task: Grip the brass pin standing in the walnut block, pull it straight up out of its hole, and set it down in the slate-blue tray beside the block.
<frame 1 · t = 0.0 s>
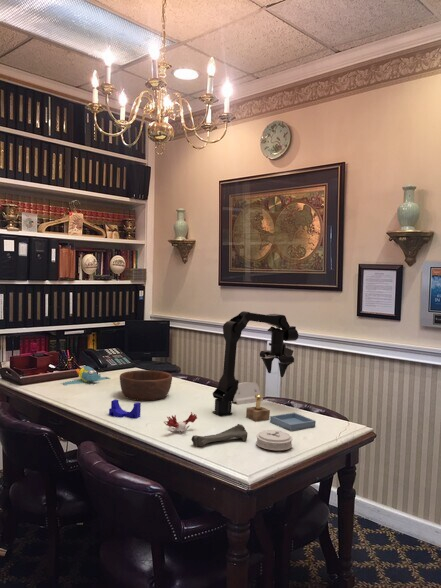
hand: (275, 375, 228), 15 cm above the table, tool pointing down, fingers open, 9 cm apart
brass pin: (258, 406, 209), in the pin block
bone: (221, 444, 177), on the table
lid: (273, 447, 176), on the table
tray: (292, 424, 202), on the table
blue toy parrot: (87, 383, 264), on the table
pin block: (257, 418, 209), on the table
figurine: (178, 431, 188), on the table
hinge: (245, 401, 237), on the table
wooden bowl: (145, 396, 239), on the table
cable clip: (124, 417, 204), on the table
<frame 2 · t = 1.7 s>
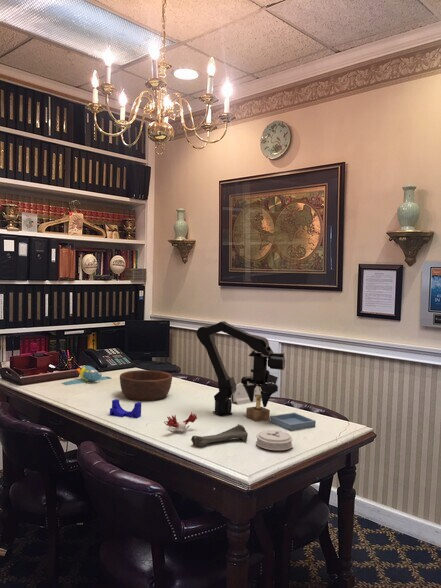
hand: (258, 404, 209), 6 cm above the table, tool pointing down, fingers open, 9 cm apart
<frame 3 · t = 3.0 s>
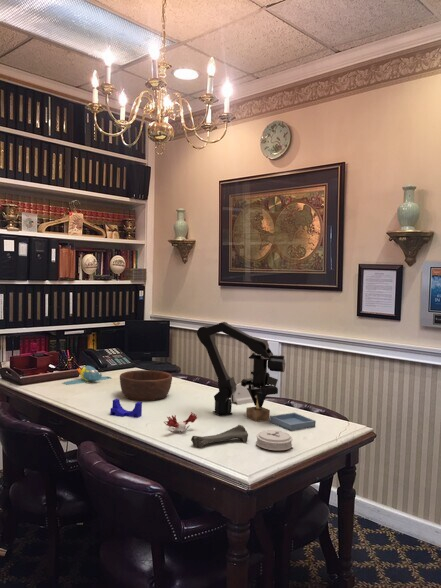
hand: (258, 406, 209), 5 cm above the table, tool pointing down, fingers closed on brass pin, 3 cm apart
brass pin: (258, 406, 209), in the pin block, touching gripper
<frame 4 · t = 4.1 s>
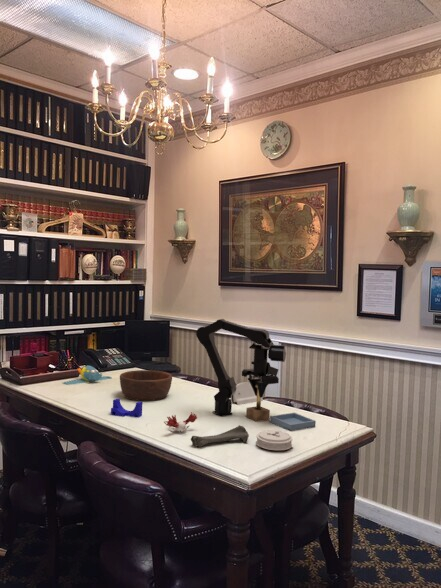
hand: (258, 396, 208), 9 cm above the table, tool pointing down, fingers closed on brass pin, 3 cm apart
brass pin: (258, 396, 208), point 9 cm above the table, touching gripper
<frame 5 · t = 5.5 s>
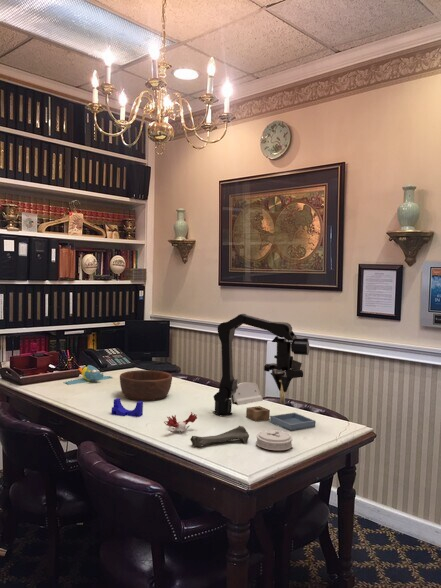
hand: (282, 391, 204), 13 cm above the table, tool pointing down, fingers closed on brass pin, 3 cm apart
brass pin: (282, 391, 204), point 13 cm above the table, touching gripper
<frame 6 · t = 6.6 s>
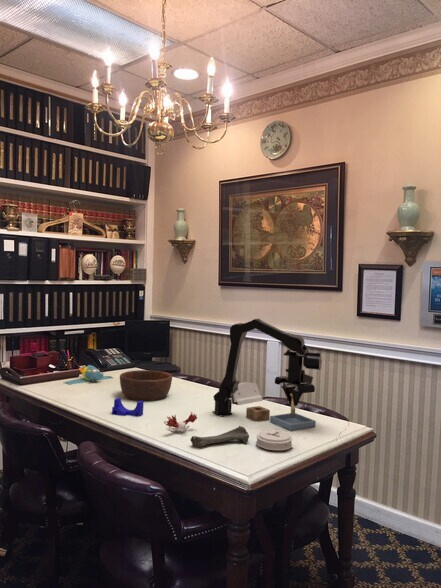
hand: (293, 405, 202), 8 cm above the table, tool pointing down, fingers closed on brass pin, 3 cm apart
brass pin: (293, 405, 202), point 8 cm above the table, touching gripper
when the fingers open (7 cm above the table, at t = 7.3 s): brass pin drops 2 cm, resting on tray.
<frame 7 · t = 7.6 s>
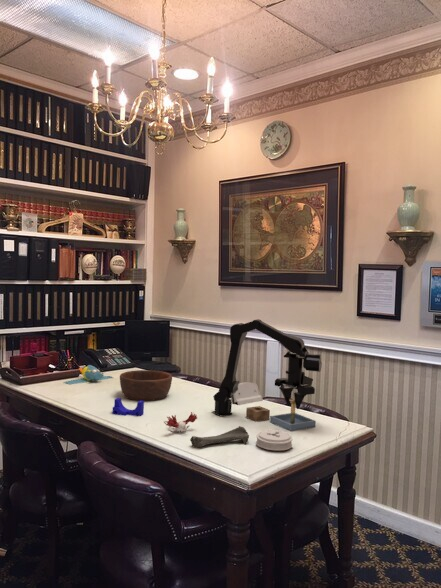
hand: (293, 407, 202), 7 cm above the table, tool pointing down, fingers open, 5 cm apart
brass pin: (293, 411, 202), in the tray, point 6 cm above the table
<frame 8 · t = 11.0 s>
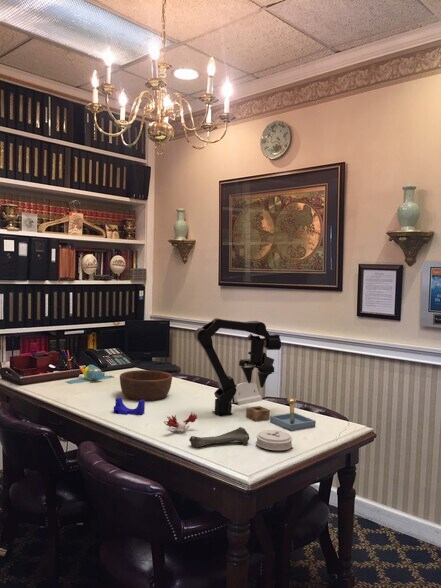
hand: (255, 385, 217), 12 cm above the table, tool pointing down, fingers open, 9 cm apart
blue toy parrot: (91, 381, 268), on the table
cable clip: (129, 414, 208), on the table
at the end: brass pin inside the target area on the tray (0.0 cm from its centre), point 5.5 cm above the tray's base; the gripper is holding nothing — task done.
